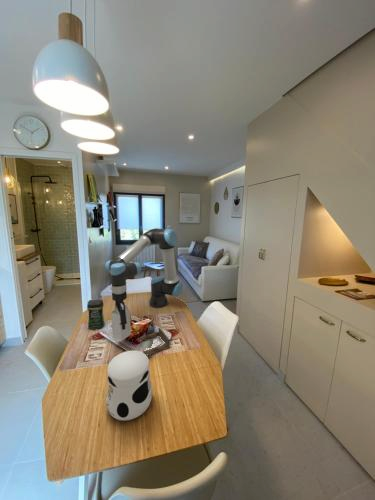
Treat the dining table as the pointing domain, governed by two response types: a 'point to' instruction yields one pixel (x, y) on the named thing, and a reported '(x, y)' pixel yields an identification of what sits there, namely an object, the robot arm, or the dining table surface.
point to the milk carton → (116, 324)
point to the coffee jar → (95, 314)
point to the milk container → (128, 385)
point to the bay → (149, 343)
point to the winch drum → (151, 328)
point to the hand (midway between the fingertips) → (121, 329)
